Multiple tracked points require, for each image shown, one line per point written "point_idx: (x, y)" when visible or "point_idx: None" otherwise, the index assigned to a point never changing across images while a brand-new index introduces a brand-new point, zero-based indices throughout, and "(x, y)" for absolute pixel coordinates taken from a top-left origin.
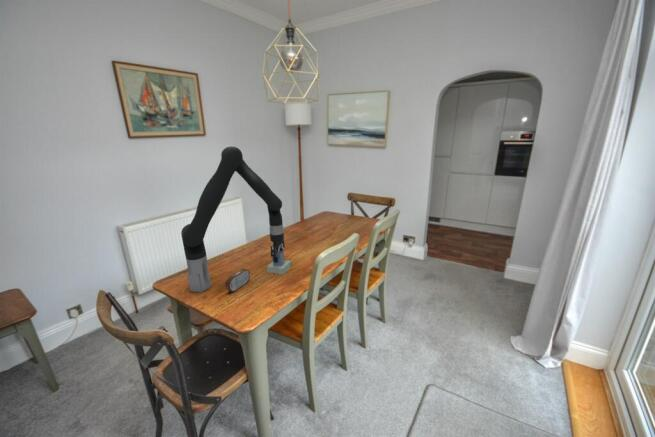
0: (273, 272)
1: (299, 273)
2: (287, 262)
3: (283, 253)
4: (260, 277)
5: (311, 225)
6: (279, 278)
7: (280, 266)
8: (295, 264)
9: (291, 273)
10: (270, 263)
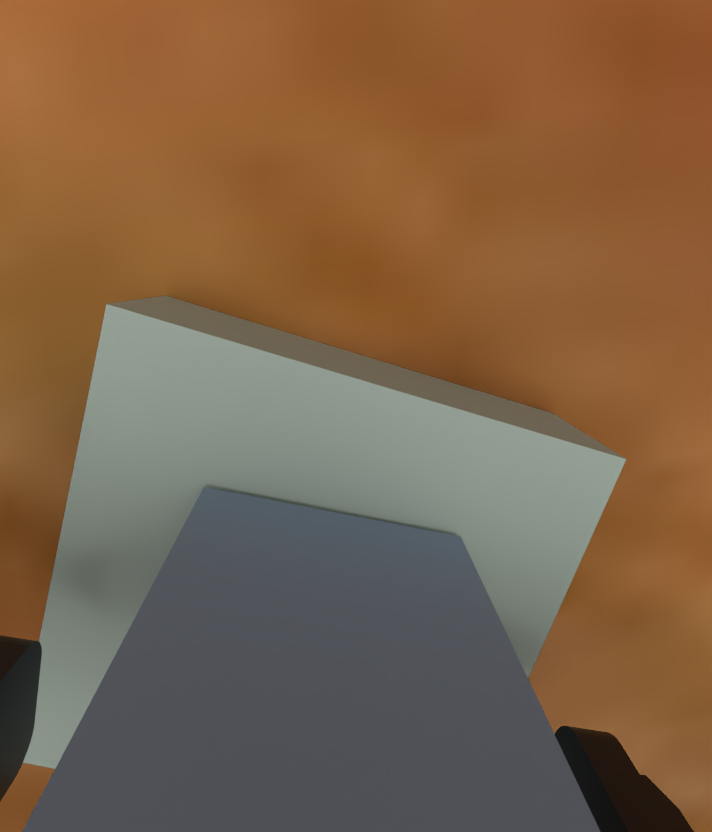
0: None
1: (548, 29)
2: (224, 397)
3: (129, 740)
4: None
5: None
6: (704, 471)
7: (482, 553)
8: (38, 192)
9: (524, 243)
10: None
